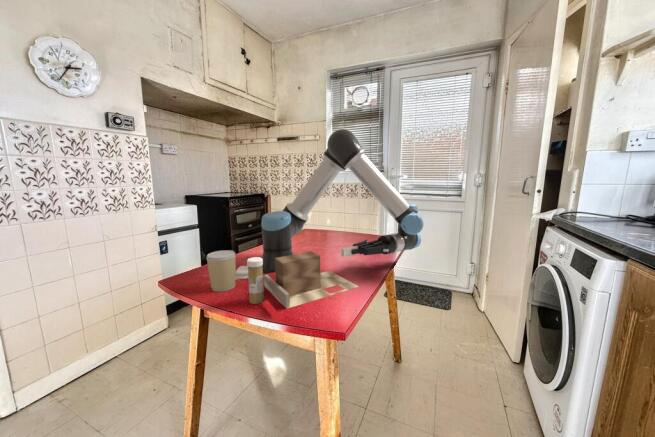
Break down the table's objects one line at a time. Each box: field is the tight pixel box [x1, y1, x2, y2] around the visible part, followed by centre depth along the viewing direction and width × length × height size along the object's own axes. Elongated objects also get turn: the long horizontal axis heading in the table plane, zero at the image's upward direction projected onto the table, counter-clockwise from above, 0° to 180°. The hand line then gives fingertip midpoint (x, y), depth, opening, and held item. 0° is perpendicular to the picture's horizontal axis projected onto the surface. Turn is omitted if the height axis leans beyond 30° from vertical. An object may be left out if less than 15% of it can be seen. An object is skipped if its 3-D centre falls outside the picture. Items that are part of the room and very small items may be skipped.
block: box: [274, 250, 321, 296], centre depth 82 cm, size 13×6×11 cm, turn 123°
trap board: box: [263, 270, 360, 310], centre depth 85 cm, size 26×18×6 cm
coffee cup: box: [205, 249, 237, 293], centre depth 89 cm, size 9×9×12 cm
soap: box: [235, 265, 249, 280], centre depth 101 cm, size 9×7×3 cm
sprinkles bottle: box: [246, 256, 265, 305], centre depth 78 cm, size 5×5×13 cm
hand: (342, 252), depth 91 cm, fingers closed
